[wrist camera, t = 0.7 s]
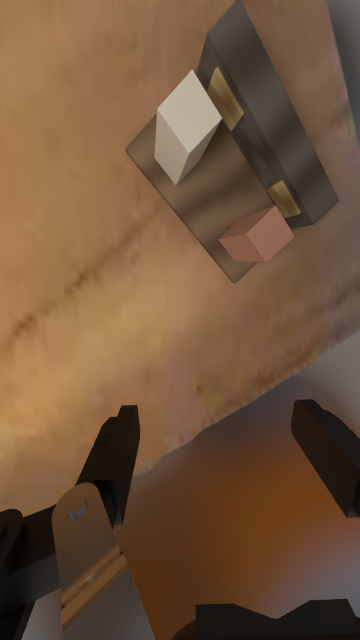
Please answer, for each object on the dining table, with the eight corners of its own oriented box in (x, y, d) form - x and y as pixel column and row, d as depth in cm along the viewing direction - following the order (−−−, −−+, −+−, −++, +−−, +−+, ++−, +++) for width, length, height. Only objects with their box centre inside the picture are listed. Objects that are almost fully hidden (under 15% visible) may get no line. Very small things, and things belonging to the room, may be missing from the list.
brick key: (217, 239, 29) (246, 233, 21) (238, 219, 29) (275, 205, 20) (233, 260, 31) (266, 262, 22) (253, 241, 30) (294, 236, 22)
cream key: (154, 157, 25) (157, 108, 17) (177, 132, 25) (192, 69, 16) (176, 185, 26) (189, 153, 18) (198, 162, 26) (222, 118, 18)
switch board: (126, 152, 26) (119, 124, 20) (219, 48, 24) (241, -16, 18) (232, 282, 33) (249, 288, 27) (309, 210, 31) (344, 201, 26)
